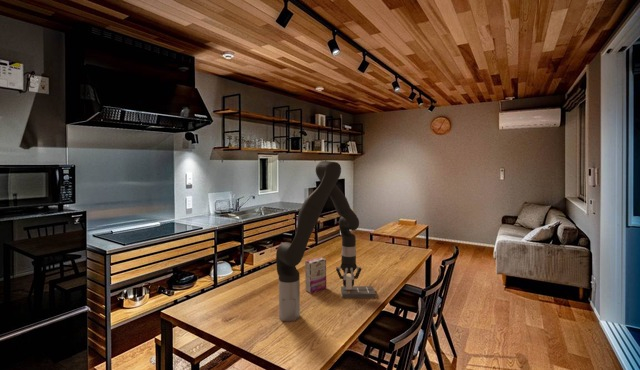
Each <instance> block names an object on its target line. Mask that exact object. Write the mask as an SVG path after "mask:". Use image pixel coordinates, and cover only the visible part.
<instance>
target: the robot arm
mask: <svg viewBox="0 0 640 370" xmlns="http://www.w3.org/2000/svg"><path fill="white" fill-rule="evenodd" d="M341 172H342V166H341V164H340V163H339V162H336V161H329V160H328V161H327V160H322V161H321V160H320V161H319V162H318V163H317V164H316V166H315V175H316V177H317V179H318V180H319V181H320V184H319V185H318V187H317V188H316V189H315V190H314V191H313V192H311V194H310V195H308V196H307V197H306V198H305V200H304V201H303V203H302V205H301V207H300V210H299V211H298V215H297V224H296V225H297V227H296V232H295V235H294V237H293V239H292V241H291V242H288V241H285V242H282V243H280V244H279V246H278V247H277V248H276V254H275V257H276V258H275V259H276V260H275V262H276V272H277V276H278V317H279V319H280V320H281V322H296V321H297V320H298V319H299V318H300V315H301V314H300V313H301V308H300V307H301V306H300V304H301V303H300V297H301V296H300V291H301V290H300V289H301V288H300V284H301V283H300V282H301V281H300V272H299V270H298V269H297V267H296V266H298V265H299V264H300V263H301V262H302V260H303V257H304V255H305V252H306V249H307V246H308V243H309V241H310V238H311V236H312V234H313V231H314V229H315V227H316V224H317V222H318V220H319V219H320V216H321V213H322V212H323V210H324V207H325V205H326V202H327V201H328V199H329V197H330V200H331V201H332V203H333V206H334V209H335V211H336V213H337V215H338V216H340V217H339V220H338V228H339V231H340V235H341V252H340V253H341V264H340V266H336V267H335V271H336V272H337V275H338V277H339V280H342V285H343V286H344V287H346V275H351V277H352V287H353V286H355V280H358V278H359V276H360V274H361V272H362V267H361V266H358V265H357V248H356V247H357V245H356V244H357V243H356V241H357V239H356V235H355V234H354V233H352V232H351V231H356V230H358V229H359V226H360V221H359V218H358V216H357V214H356V213H355V212H354V210H353V209H352V208H351V206H350V203H349V201H348V198H347V196H346V195H345V194H344V192H343V191H342V190H341V189H340V188H339V186H338V185H337V183H338V181H339V179H340V177H341ZM341 271H343V274H342V273H341ZM355 271H356V272H355ZM354 272H355V274H354Z"/></svg>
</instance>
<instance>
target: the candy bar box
mask: <svg viewBox="0 0 640 370" xmlns="http://www.w3.org/2000/svg"><path fill="white" fill-rule="evenodd" d="M304 271H305V272H304V276H305V278H304V279H305V291H306V292H307V293H309V294H313V293H316V292H319V291H322V290H324V289H327V259H326V258H324V257H322V256H321V257H320V256H319V257H317V258H313V259H309V260H306V261H304Z"/></svg>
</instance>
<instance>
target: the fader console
mask: <svg viewBox="0 0 640 370" xmlns="http://www.w3.org/2000/svg"><path fill="white" fill-rule="evenodd" d="M340 292H341V293H340V294H341V297H342V299H361V298H362V299H363V298H364V299H370V298H371V299H372V298H373V299H374V298H375V299H376V297H377V293H376V291H375V288H374V287H373V286H372V285H371V286H370V285H368V286H367V285H365V286H361V285H360V286H359V285H358V286H357V285H356V286H355V285H354V286H353V287H352V289H350V290H347V289H346V288H345V287H344V286H340Z"/></svg>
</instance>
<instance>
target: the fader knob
mask: <svg viewBox="0 0 640 370" xmlns="http://www.w3.org/2000/svg"><path fill="white" fill-rule="evenodd" d="M345 288H346V289H347V290H350V289H352V277H351V274H347V275H346V287H345Z"/></svg>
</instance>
